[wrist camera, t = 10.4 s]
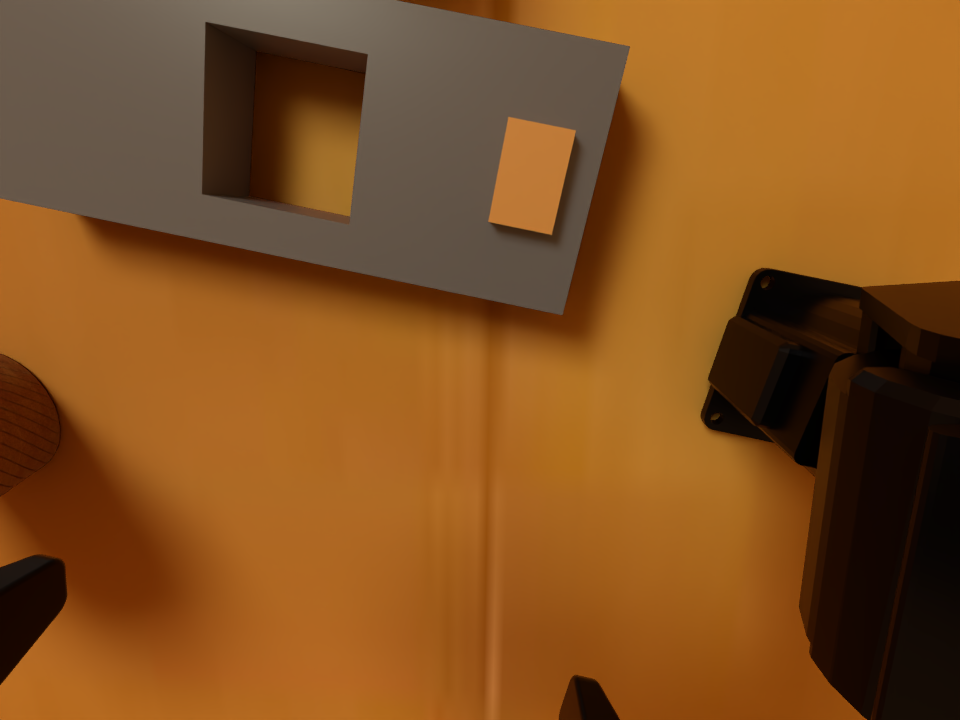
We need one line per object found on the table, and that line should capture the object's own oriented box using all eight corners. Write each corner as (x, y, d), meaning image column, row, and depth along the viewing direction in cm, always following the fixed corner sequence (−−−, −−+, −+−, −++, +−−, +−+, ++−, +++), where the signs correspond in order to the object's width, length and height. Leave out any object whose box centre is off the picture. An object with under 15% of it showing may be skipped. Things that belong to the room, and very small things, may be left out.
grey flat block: (612, 72, 17) (634, 39, 14) (556, 299, 20) (564, 319, 16) (50, -39, 17) (-65, -99, 14) (64, 197, 20) (-30, 195, 16)
